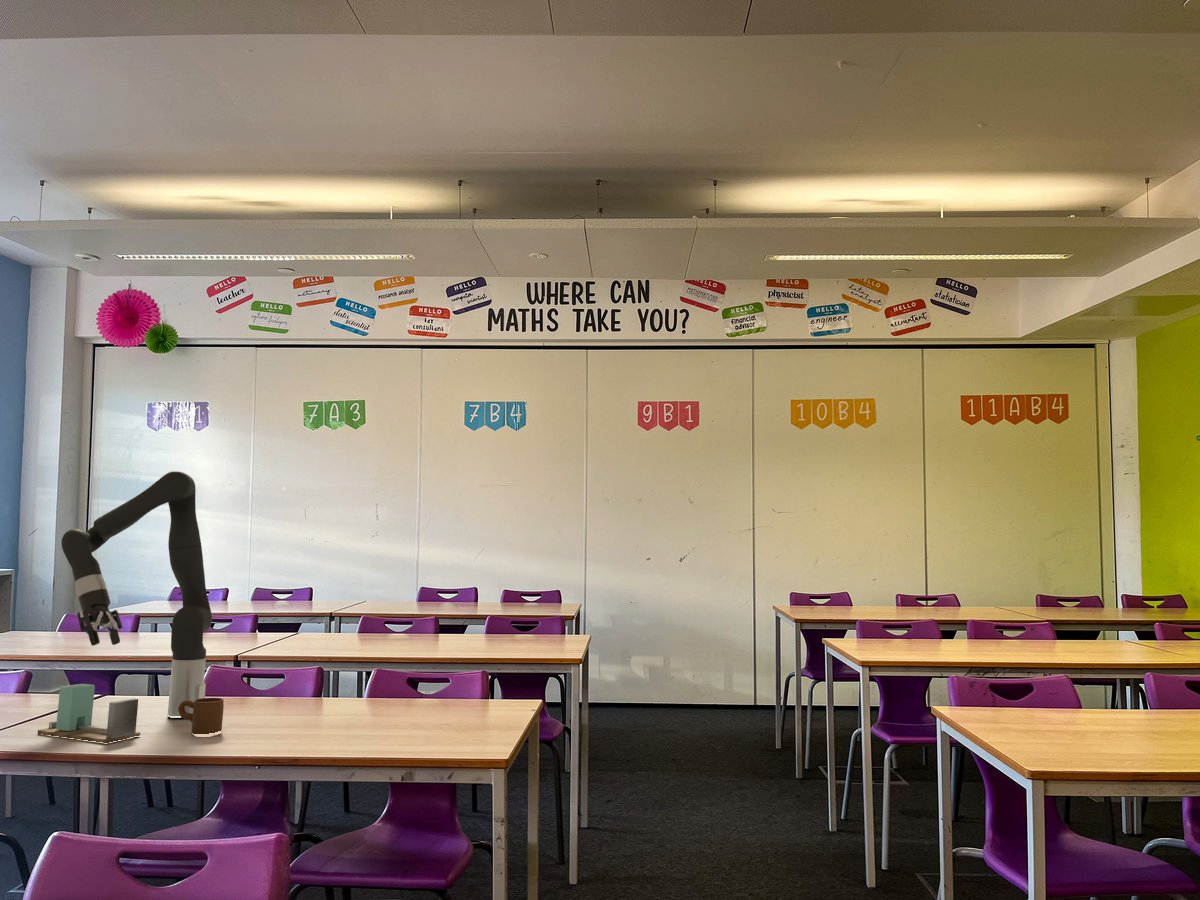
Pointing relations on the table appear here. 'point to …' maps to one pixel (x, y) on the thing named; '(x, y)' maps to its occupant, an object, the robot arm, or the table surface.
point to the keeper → (75, 706)
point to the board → (83, 735)
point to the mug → (204, 714)
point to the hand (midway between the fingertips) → (106, 644)
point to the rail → (114, 720)
